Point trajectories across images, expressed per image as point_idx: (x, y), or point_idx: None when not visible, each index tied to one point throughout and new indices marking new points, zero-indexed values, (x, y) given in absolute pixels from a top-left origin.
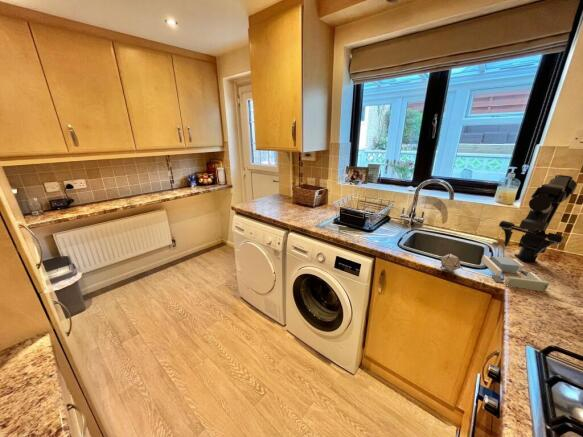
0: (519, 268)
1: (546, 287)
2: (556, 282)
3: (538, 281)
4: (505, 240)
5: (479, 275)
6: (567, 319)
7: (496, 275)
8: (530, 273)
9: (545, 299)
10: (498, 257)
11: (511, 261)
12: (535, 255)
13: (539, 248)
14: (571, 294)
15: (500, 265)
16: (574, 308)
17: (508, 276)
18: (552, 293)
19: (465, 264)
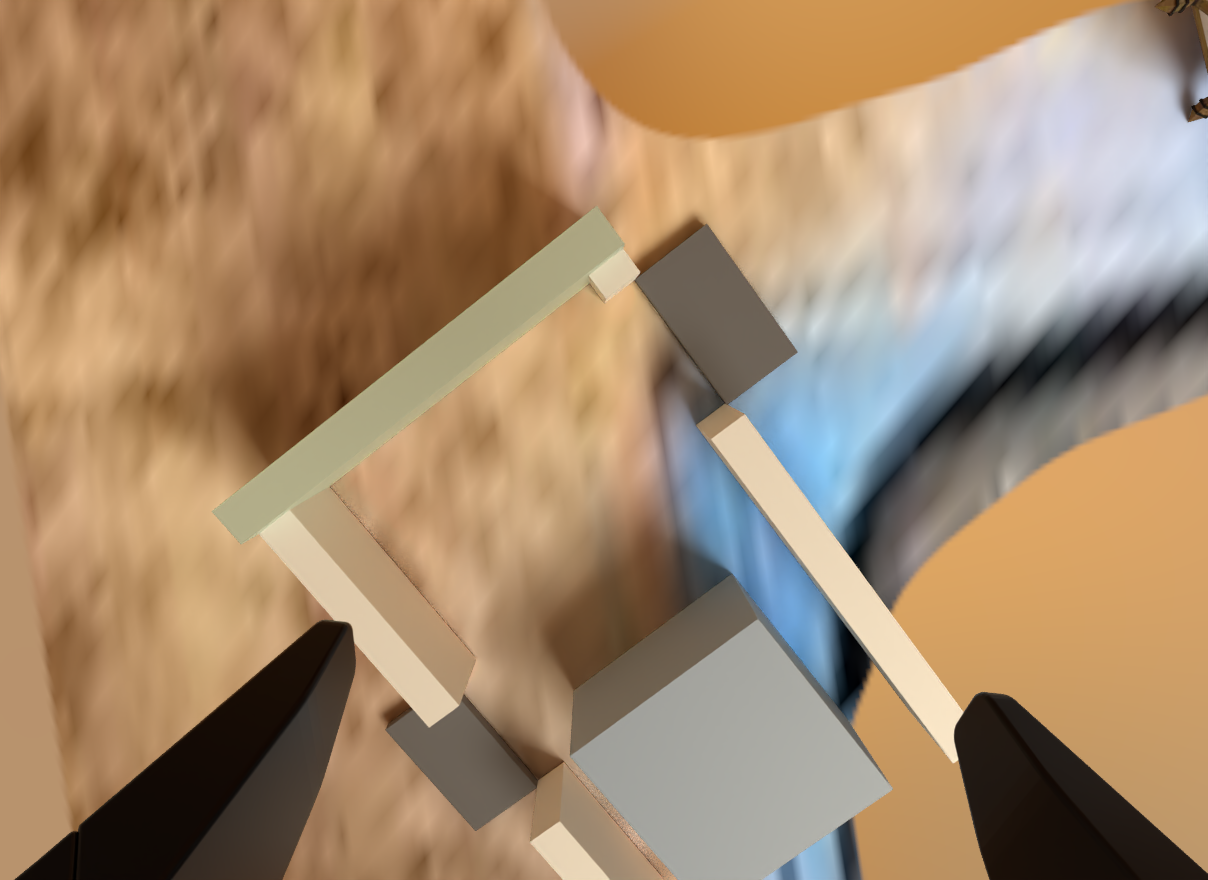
0: (562, 788)
1: None
2: None
3: (312, 444)
4: (1172, 847)
5: (884, 239)
6: (19, 3)
7: (731, 398)
8: (436, 679)
9: (243, 283)
10: (820, 805)
11: (668, 818)
12: (312, 640)
13: (155, 842)
14: (89, 648)
15: (753, 608)
16: (17, 337)
17: (621, 245)
18: (218, 502)
19: (1074, 406)
